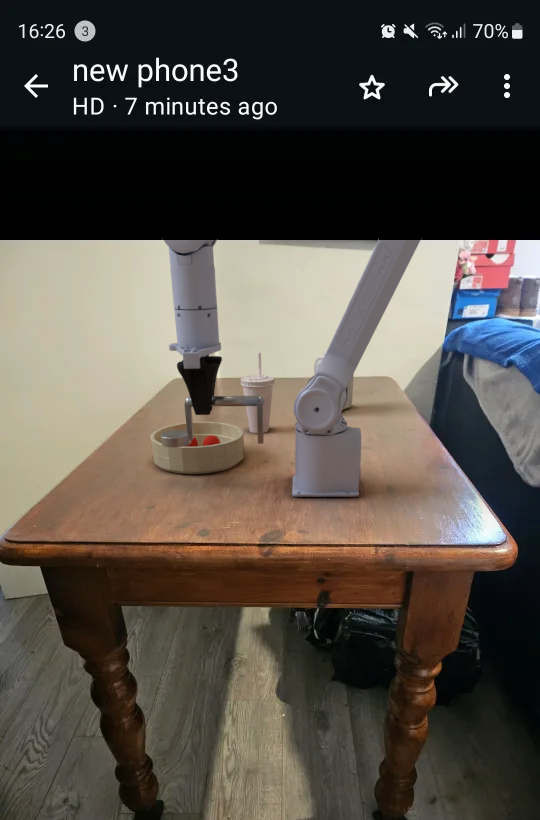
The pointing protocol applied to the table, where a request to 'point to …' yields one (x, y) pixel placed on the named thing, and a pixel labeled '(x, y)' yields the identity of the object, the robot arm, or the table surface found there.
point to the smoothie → (258, 387)
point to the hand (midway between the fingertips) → (203, 412)
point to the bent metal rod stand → (184, 437)
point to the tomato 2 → (211, 440)
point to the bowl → (200, 449)
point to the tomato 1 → (193, 443)
